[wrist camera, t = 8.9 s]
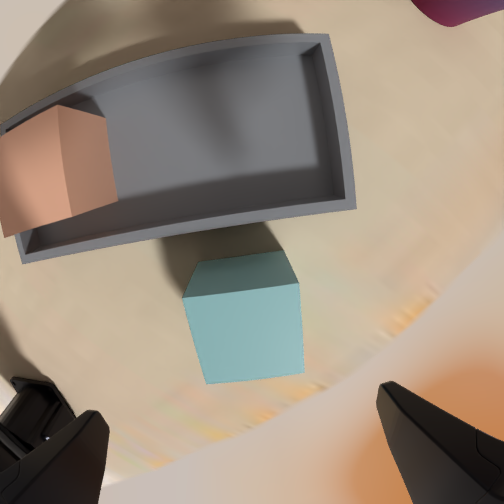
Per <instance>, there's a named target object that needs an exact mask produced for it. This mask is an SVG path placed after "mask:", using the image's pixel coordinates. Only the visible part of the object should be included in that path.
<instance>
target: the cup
mask: <svg viewBox="0 0 504 504" xmlns="http://www.w3.org/2000/svg"><path fill="white" fill-rule="evenodd" d="M412 1H413V3H414V4H415V5H416V6H417V7H418V8H419V9H420V10H421V11H422V12H423V13H424V14H425V15H427V16H428V17H429V18H430V19H432V20H434V21H435V22H437V23H439V24H441V25H444V26H447V27H454V26H457V25H460V24H462V23H465V22H468V21H470V20H473V19H476V18H479V17H482V16H485V15H488V14H491V13H494V12H497V11H500V10H504V0H412Z"/></svg>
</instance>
